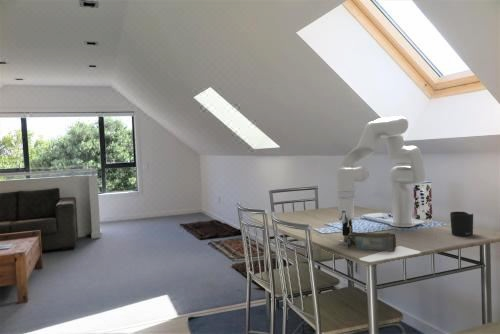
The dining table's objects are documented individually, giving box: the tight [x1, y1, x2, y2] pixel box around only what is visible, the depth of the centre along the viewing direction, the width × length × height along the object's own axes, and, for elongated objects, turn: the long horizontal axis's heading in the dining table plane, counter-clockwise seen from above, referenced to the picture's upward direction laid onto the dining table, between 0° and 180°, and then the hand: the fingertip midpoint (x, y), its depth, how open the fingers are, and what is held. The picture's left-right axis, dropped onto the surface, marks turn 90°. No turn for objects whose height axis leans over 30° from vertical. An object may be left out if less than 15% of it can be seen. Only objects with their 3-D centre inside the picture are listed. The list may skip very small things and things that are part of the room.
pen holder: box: [449, 211, 474, 237], centre depth 178 cm, size 9×9×10 cm
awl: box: [343, 219, 351, 242], centre depth 174 cm, size 3×3×11 cm
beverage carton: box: [346, 231, 397, 252], centre depth 162 cm, size 8×19×7 cm, turn 65°
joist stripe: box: [337, 239, 348, 246], centre depth 176 cm, size 16×9×1 cm, turn 150°
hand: (347, 234), depth 174 cm, fingers open, 4 cm apart
